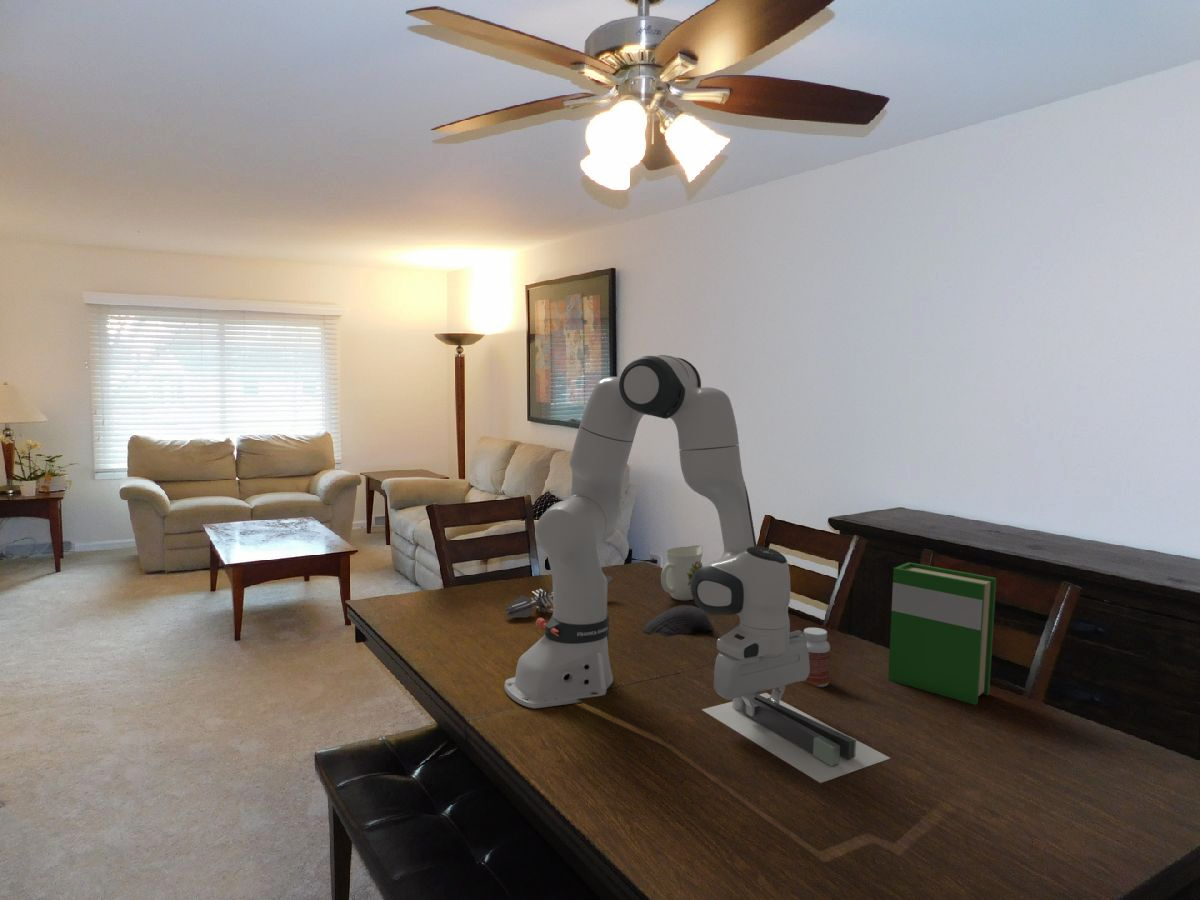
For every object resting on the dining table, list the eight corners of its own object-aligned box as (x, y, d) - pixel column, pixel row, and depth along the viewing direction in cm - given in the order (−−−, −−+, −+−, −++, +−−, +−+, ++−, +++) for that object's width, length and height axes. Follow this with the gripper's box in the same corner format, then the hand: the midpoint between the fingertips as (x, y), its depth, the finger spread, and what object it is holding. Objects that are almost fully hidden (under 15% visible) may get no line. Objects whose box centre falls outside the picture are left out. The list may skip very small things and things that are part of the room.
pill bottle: (835, 684, 162) (837, 632, 161) (815, 690, 158) (817, 637, 157) (812, 674, 167) (814, 624, 166) (792, 680, 163) (793, 629, 162)
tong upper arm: (751, 710, 145) (751, 695, 145) (758, 708, 146) (758, 693, 146) (848, 759, 127) (849, 742, 127) (855, 756, 128) (856, 739, 128)
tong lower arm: (727, 706, 148) (727, 688, 147) (741, 703, 150) (742, 684, 149) (831, 767, 125) (832, 746, 125) (847, 762, 127) (848, 741, 127)
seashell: (726, 643, 193) (731, 611, 193) (660, 645, 185) (665, 612, 184) (695, 625, 206) (699, 595, 206) (632, 626, 198) (636, 595, 197)
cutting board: (820, 788, 121) (820, 782, 121) (701, 714, 147) (701, 709, 147) (890, 763, 129) (890, 758, 129) (765, 697, 155) (766, 692, 155)
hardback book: (989, 694, 157) (996, 578, 155) (976, 705, 152) (983, 584, 150) (903, 670, 170) (908, 562, 167) (888, 679, 164) (893, 568, 162)
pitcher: (646, 600, 220) (647, 552, 218) (684, 587, 233) (685, 542, 232) (677, 608, 212) (678, 559, 211) (715, 595, 226) (716, 548, 224)
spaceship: (622, 574, 217) (605, 558, 222) (515, 609, 196) (499, 591, 201) (617, 596, 221) (600, 581, 226) (512, 633, 200) (496, 615, 205)
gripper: (794, 623, 149) (792, 693, 150) (709, 641, 139) (708, 716, 140) (818, 633, 144) (816, 705, 145) (732, 652, 133) (730, 730, 135)
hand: (762, 711), depth 142 cm, fingers open, 4 cm apart
